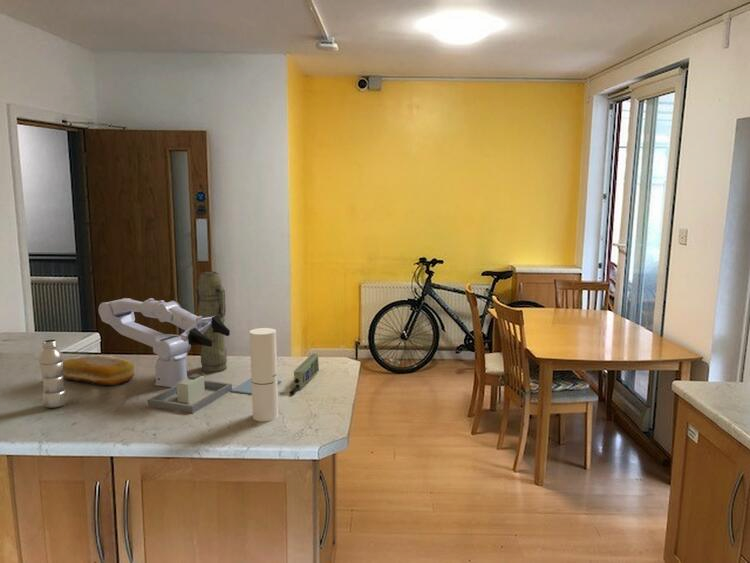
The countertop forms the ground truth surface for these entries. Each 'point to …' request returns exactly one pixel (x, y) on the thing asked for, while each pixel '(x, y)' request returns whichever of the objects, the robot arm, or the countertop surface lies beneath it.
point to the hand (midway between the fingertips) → (220, 338)
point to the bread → (98, 369)
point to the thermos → (209, 306)
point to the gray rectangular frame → (158, 403)
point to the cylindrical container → (264, 374)
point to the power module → (190, 388)
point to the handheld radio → (305, 372)
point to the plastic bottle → (52, 375)
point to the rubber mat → (246, 387)
